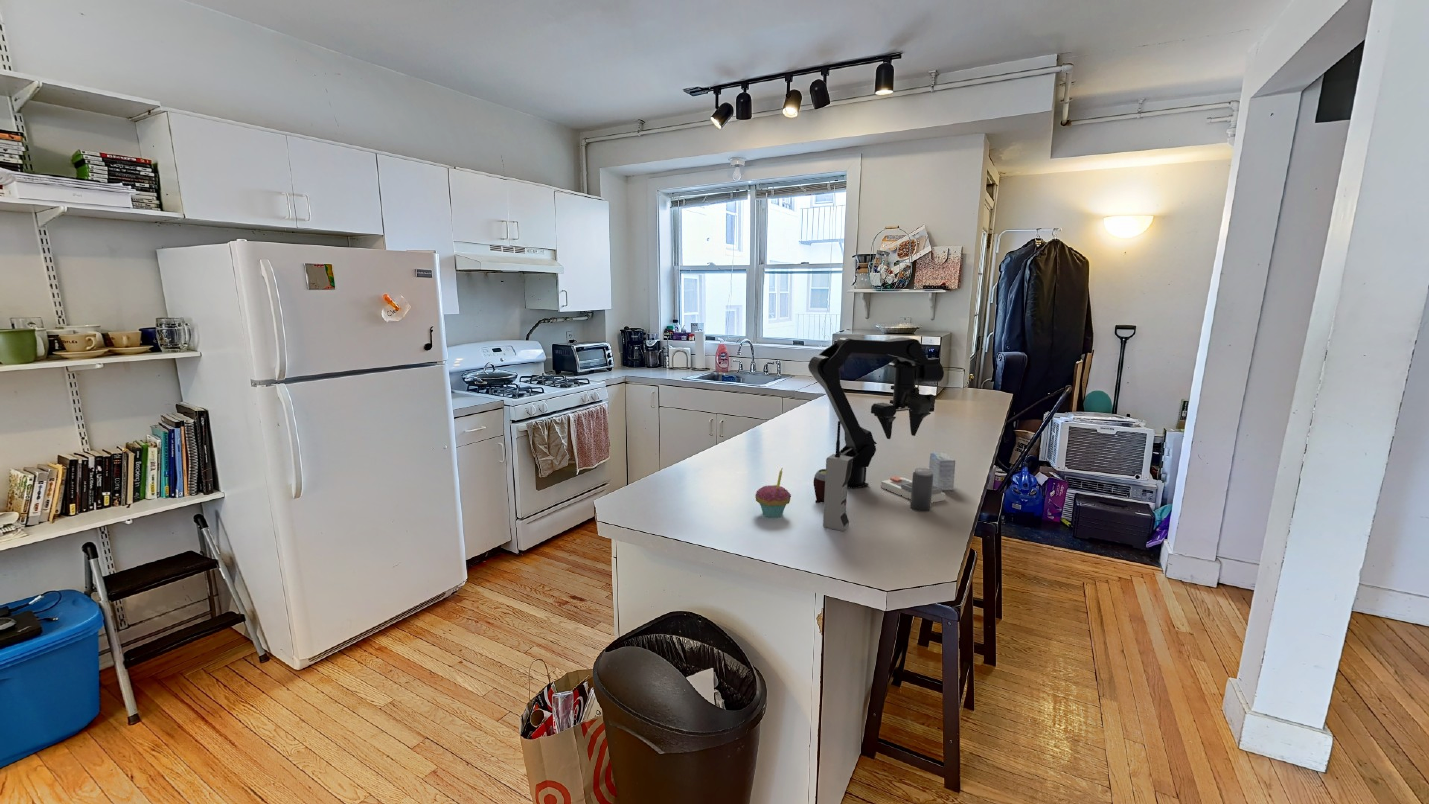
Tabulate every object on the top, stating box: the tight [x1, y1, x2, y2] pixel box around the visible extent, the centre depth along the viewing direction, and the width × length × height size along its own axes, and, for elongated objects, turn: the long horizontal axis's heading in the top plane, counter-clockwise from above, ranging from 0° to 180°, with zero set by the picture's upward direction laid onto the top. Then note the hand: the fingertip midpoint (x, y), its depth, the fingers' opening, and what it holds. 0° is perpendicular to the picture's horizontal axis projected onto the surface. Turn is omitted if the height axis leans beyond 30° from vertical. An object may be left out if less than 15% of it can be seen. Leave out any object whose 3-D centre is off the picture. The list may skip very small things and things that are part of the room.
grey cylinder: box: [909, 467, 933, 513], centre depth 143 cm, size 5×5×10 cm
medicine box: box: [928, 452, 956, 491], centre depth 160 cm, size 8×4×9 cm, turn 179°
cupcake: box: [754, 467, 792, 519], centre depth 138 cm, size 9×8×12 cm
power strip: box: [880, 476, 946, 504], centre depth 154 cm, size 8×15×3 cm, turn 28°
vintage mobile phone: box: [822, 420, 853, 532], centre depth 129 cm, size 4×5×25 cm
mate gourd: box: [813, 448, 852, 504], centre depth 146 cm, size 8×8×15 cm
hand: (901, 437), depth 162 cm, fingers open, 9 cm apart
